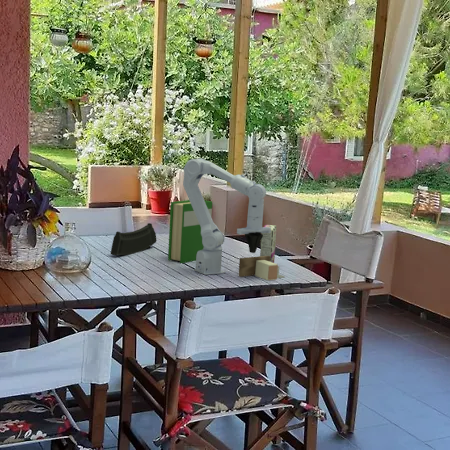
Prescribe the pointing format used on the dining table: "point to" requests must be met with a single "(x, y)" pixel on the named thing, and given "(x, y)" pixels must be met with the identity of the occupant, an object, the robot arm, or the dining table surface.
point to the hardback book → (185, 232)
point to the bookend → (278, 274)
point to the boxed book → (266, 270)
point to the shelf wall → (250, 265)
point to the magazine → (133, 241)
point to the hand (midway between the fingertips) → (252, 252)
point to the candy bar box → (269, 243)
